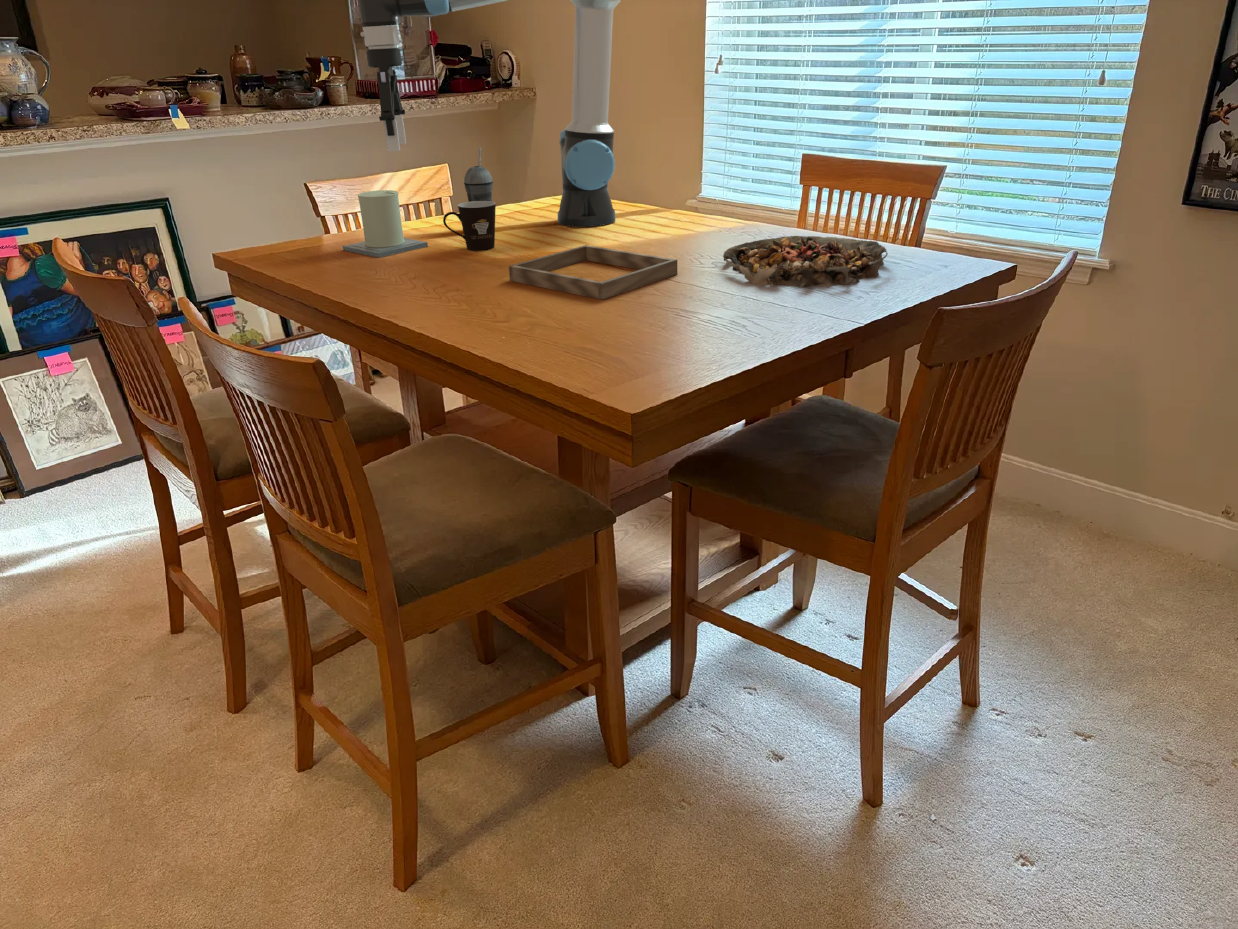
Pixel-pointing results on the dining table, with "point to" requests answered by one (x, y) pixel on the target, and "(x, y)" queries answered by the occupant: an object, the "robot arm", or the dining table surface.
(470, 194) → the beverage cup
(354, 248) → the slate coaster
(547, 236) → the dining table surface
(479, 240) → the coffee mug
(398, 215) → the can
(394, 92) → the robot arm
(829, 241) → the food dish
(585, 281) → the walnut frame
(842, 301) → the dining table surface
